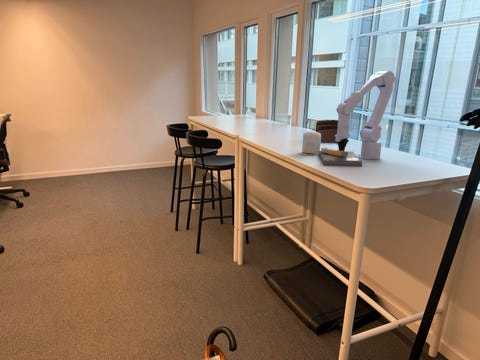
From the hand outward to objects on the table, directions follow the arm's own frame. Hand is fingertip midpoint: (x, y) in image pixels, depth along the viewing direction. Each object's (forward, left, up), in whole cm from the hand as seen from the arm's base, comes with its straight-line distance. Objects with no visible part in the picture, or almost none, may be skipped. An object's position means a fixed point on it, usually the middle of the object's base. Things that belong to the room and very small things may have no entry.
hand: (341, 153), depth 174 cm
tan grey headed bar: (+4, -1, 0) cm, 4 cm away
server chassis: (+1, +2, -3) cm, 4 cm away
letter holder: (-3, -53, -4) cm, 53 cm away
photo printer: (+14, -14, -4) cm, 20 cm away
